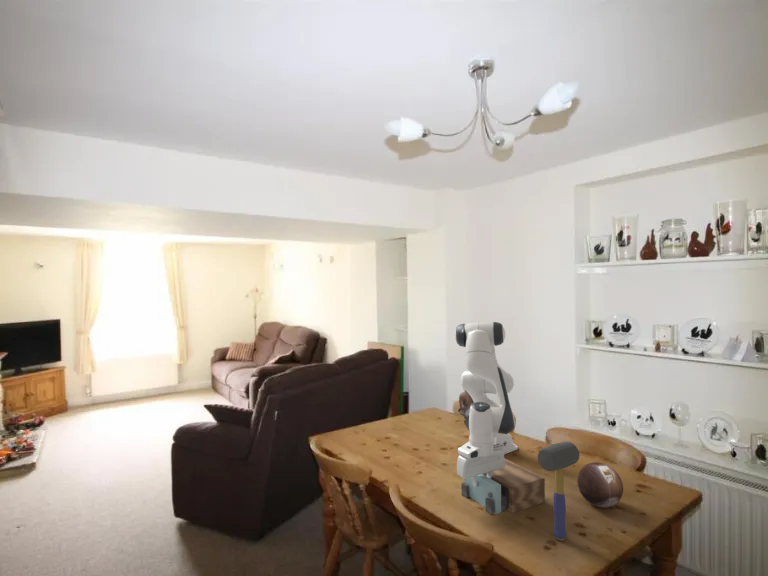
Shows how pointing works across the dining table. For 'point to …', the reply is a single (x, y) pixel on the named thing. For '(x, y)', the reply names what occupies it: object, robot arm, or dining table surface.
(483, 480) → the door
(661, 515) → the dining table surface
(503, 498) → the cabinet
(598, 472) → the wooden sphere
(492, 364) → the robot arm
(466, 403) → the clay figurine
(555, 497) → the rubber mallet
